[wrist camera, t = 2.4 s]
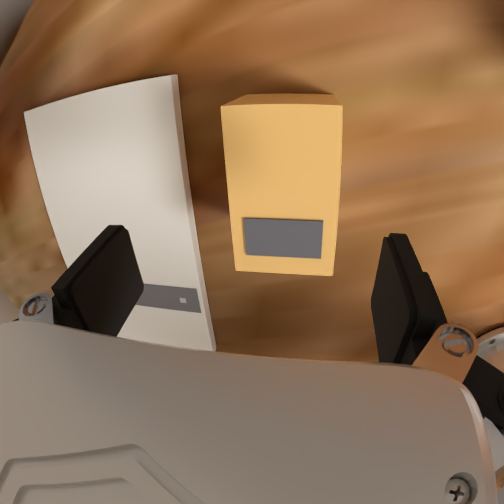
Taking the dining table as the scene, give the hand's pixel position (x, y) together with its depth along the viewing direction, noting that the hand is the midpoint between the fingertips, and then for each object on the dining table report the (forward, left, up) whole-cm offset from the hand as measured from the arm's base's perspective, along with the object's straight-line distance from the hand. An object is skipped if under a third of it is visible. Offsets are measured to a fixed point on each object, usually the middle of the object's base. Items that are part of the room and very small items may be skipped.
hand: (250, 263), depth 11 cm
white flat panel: (+16, +7, -14) cm, 22 cm away
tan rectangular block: (-1, 0, -14) cm, 14 cm away
